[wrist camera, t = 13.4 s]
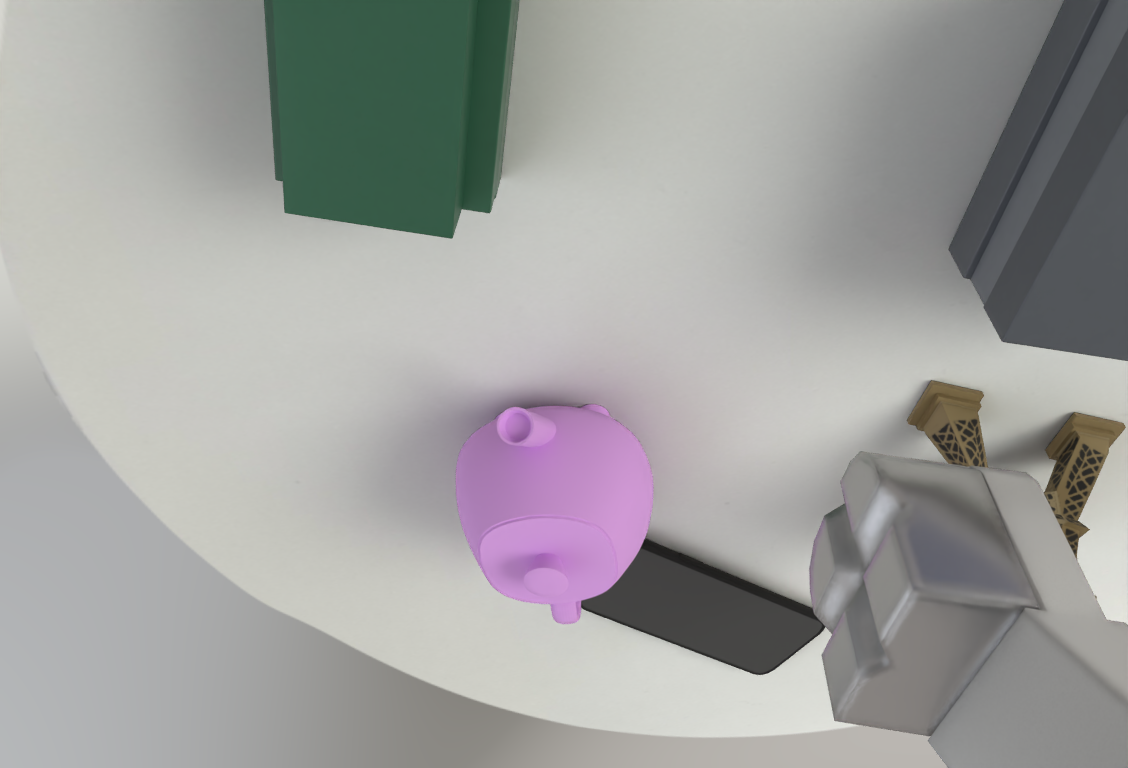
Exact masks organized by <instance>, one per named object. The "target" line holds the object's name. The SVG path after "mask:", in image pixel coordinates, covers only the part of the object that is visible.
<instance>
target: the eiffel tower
mask: <svg viewBox="0 0 1128 768" xmlns="http://www.w3.org/2000/svg"><path fill="white" fill-rule="evenodd" d="M983 396H984V395H983V393H982V392H981V391H977V390H972V389H968V388H963V387H959V386H954V385H950V384H945V383H941V382H936V381H932V380H931V382H930V383H929V385H928V387H927V388H926V390H925V392H924V393H923V395H922V396H921V398H920V400H919V401H918V403H917V405H916V406H915V408H914V409H913V411H912V413H911V414H910V416H909V417H908V419H907V422H908V424H910V425H915V426H916V427H917V429H918V430H920V431H924V432H925V433H926V435H927V436H928V438H929V439H930V440H931V441H932V443H933V444H934V445H935V447H936V448H937V449H938V451H939V452H940V453H941V455H942V456H943V457H944V459H945V460H946V461H947V462H948V464H954V465H961V466H966V467H969V466H978V467H986V468H988V465H987V460H986V454H985V449H984V443H983V438H982V432H981V427H980V421H979V416H978V413H977V412H978V411H979V409H980V408H981V404H980V401H981V399H982V398H983ZM1125 428H1126V427H1125V425H1124V423H1120V422H1116V421H1111V420H1107V419H1102V418H1098V417H1093V416H1089V415H1084V414H1080V413H1075V412H1074V413H1073V414H1072V416H1071V417H1070V418H1069V420H1068V421H1067V422H1066V424H1065V425H1064V426H1063V427H1062V429H1061V430H1060V431H1059V433H1058V434H1057V435H1056V437H1055V438H1054V439H1053V440H1052V442H1051V443H1050V444H1049V446H1048V447H1047V448H1046V450H1045V451H1046V453H1047V455H1048V457H1049V459H1053V460H1057V461H1056V464H1055V467H1054V469H1053V472H1052V474H1051V477H1050V480H1049V482H1048V485H1047V488H1046V490H1045V492H1044V495H1045V497H1046V499H1047V501H1048V503H1049V505H1050V507H1051V509H1052V511H1053V513H1054V515H1055V517H1056V519H1057V521H1058V523H1059V525H1060V527H1061V529H1062V531H1063V533H1064V535H1065V537H1066V539H1067V541H1068V543H1069V545H1070V547H1071V549H1072V551H1073V553H1074V555H1075V557H1076V559H1077V549H1078V540H1079V538H1080V537H1081V536H1082V535H1084V534H1085V533H1086V532H1087V531H1089V530H1090V529H1088V528H1087V527H1086V526H1084V525H1083V524H1082V523H1080V522H1079V521H1078V519H1079V517H1080V515H1081V512H1082V510H1083V508H1084V506H1085V504H1086V502H1087V500H1088V497H1089V495H1090V493H1091V491H1092V489H1093V487H1094V484H1095V482H1096V480H1097V478H1098V475H1099V473H1100V471H1101V468H1102V466H1103V464H1104V462H1105V459H1106V457H1107V455H1108V452H1109V447H1110V446H1111V445H1112V444H1113V442H1114V441H1115V440H1116V439H1117V438H1118V436H1119V435H1120V434H1121V433H1122V432H1123V430H1124V429H1125ZM1095 597H1096V596H1095ZM1096 599H1097V598H1096Z"/></svg>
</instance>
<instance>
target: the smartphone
mask: <svg viewBox="0 0 1128 768" xmlns="http://www.w3.org/2000/svg"><path fill="white" fill-rule="evenodd" d="M581 608H582V609H584V610H586V611H589V612H592V613H594V614H597V615H599V616H602V617H604V618H607V619H610V620H612V621H615V622H617V623H620V624H623V625H625V626H628V627H631V628H633V629H636V630H639V631H641V632H644V633H647V634H649V635H652V636H655V637H657V638H660V639H663V640H665V641H668V642H670V643H673V644H676V645H678V646H681V647H684V648H686V649H689V650H692V651H694V652H697V653H699V654H702V655H705V656H707V657H710V658H713V659H715V660H718V661H721V662H723V663H726V664H728V665H731V666H734V667H736V668H739V669H742V670H744V671H747V672H750V673H752V674H757V675H763V674H767V673H769V672H771V671H773V670H775V669H776V668H777V667H778V666H780V665H781V664H782V663H784V662H785V661H786V660H787V659H789V658H790V657H791V656H792V655H794V654H795V653H796V652H798V651H799V650H800V649H801V648H803V647H804V646H805V645H806V644H808V643H809V642H810V641H812V640H813V639H814V638H815V637H817V636H818V635H819V634H820V633H821V632H822V631H823V630H824V628H825V625H824V624H823V623H822V622H821V621H820V620H819V619H818V618H817V617H816V615H815V614H814V611H813V609H812V608H810V607H807V606H805V605H803V604H800V603H798V602H795V601H793V600H791V599H788V598H786V597H783V596H781V595H779V594H776V593H774V592H771V591H769V590H767V589H764V588H762V587H759V586H757V585H755V584H752V583H750V582H747V581H745V580H743V579H740V578H738V577H735V576H733V575H731V574H728V573H726V572H723V571H721V570H719V569H716V568H714V567H711V566H709V565H707V564H704V563H703V562H700V561H698V560H695V559H693V558H691V557H688V556H686V555H683V554H681V553H678V552H675V551H673V550H670V549H668V548H666V547H663V546H661V545H658V544H656V543H653V542H651V541H649V540H646V539H644V541H643V543H642V546H641V548H640V550H639V552H638V553H637V555H636V557H635V558H634V560H633V561H632V563H631V564H630V565H629V567H628V568H627V569H626V571H625V572H624V573H623V574H622V576H621V577H620V578H619V580H618V581H617V582H616V583H615V584H614V585H613V586H612V587H611V588H610V589H608V590H607V591H605V592H604V593H602V594H600V595H597V596H595V597H592V598H589V599H585V600H581Z"/></svg>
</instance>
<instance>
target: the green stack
mask: <svg viewBox="0 0 1128 768" xmlns="http://www.w3.org/2000/svg"><path fill="white" fill-rule="evenodd" d="M264 8H265V23H266V39H267V54H268V70H269V85H270V101H271V116H272V132H273V147H274V163H275V178H276V180H278V181H283V176H282V159H281V142H280V125H279V108H278V92H277V75H276V58H275V41H274V24H273V7H272V0H264ZM518 9H519V0H478V7H477V20H476V33H475V46H474V59H473V72H472V85H471V98H470V111H469V124H468V137H467V150H466V163H465V176H464V189H463V201H462V209H465V210H472V211H478V212H484V213H490V212H491V209H492V205H493V201H494V199H495V198H496V195H497V191H498V187H499V183H500V179H501V171H502V161H503V152H504V142H505V133H506V123H507V114H508V104H509V95H510V85H511V76H512V66H513V56H514V47H515V37H516V28H517V18H518Z"/></svg>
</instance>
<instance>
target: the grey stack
mask: <svg viewBox="0 0 1128 768" xmlns="http://www.w3.org/2000/svg"><path fill="white" fill-rule="evenodd" d="M949 251H950V253H951V255H952V257H953V259H954V261H955V263H956V264H957V266H958V268H959V270H960V272H961V274H962V276H963V277H964V278H967V279H971V281H972V283H973V285H974V287H975V289H976V291H977V293H978V294H979V296H980V298H981V300H982V302H983V304H984V309H985V311H986V313H987V315H988V317H989V318H990V320H991V322H992V324H993V326H994V328H995V330H996V331H997V333H998V335H999V337H1000V339H1001V341H1003V342H1007V343H1014V344H1020V345H1027V346H1033V347H1040V348H1046V349H1053V350H1059V351H1066V352H1073V353H1079V354H1086V355H1092V356H1099V357H1105V358H1112V359H1118V360H1125V361H1128V0H1064V3H1063V5H1062V7H1061V9H1060V11H1059V13H1058V15H1057V18H1056V20H1055V22H1054V24H1053V26H1052V28H1051V30H1050V33H1049V35H1048V37H1047V39H1046V41H1045V43H1044V45H1043V48H1042V50H1041V52H1040V54H1039V56H1038V58H1037V60H1036V63H1035V65H1034V67H1033V69H1032V71H1031V73H1030V75H1029V78H1028V80H1027V82H1026V84H1025V86H1024V88H1023V90H1022V93H1021V95H1020V97H1019V99H1018V101H1017V103H1016V105H1015V108H1014V110H1013V112H1012V114H1011V116H1010V118H1009V120H1008V123H1007V125H1006V127H1005V129H1004V131H1003V133H1002V135H1001V138H1000V140H999V142H998V144H997V146H996V148H995V151H994V153H993V155H992V157H991V159H990V161H989V163H988V166H987V168H986V170H985V172H984V174H983V176H982V178H981V181H980V183H979V185H978V187H977V189H976V191H975V193H974V196H973V198H972V200H971V202H970V204H969V206H968V208H967V211H966V213H965V215H964V217H963V219H962V221H961V223H960V226H959V228H958V230H957V232H956V234H955V236H954V238H953V241H952V243H951V245H950V247H949Z"/></svg>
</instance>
